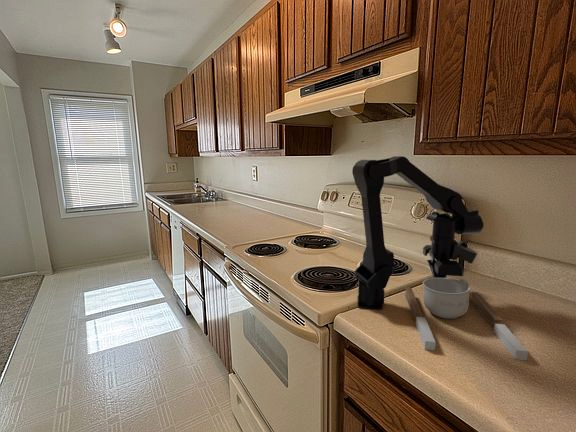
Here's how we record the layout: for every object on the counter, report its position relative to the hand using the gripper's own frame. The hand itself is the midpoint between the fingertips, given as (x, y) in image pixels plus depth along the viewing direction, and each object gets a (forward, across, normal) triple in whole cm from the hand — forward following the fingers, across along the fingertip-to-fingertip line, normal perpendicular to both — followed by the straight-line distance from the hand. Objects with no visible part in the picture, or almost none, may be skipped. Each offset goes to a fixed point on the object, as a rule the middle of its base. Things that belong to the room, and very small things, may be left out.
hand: (439, 287), depth 89 cm
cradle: (+2, -10, 0) cm, 10 cm away
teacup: (+3, -10, 0) cm, 10 cm away
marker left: (+2, -23, +9) cm, 24 cm away
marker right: (+2, -23, -8) cm, 25 cm away
